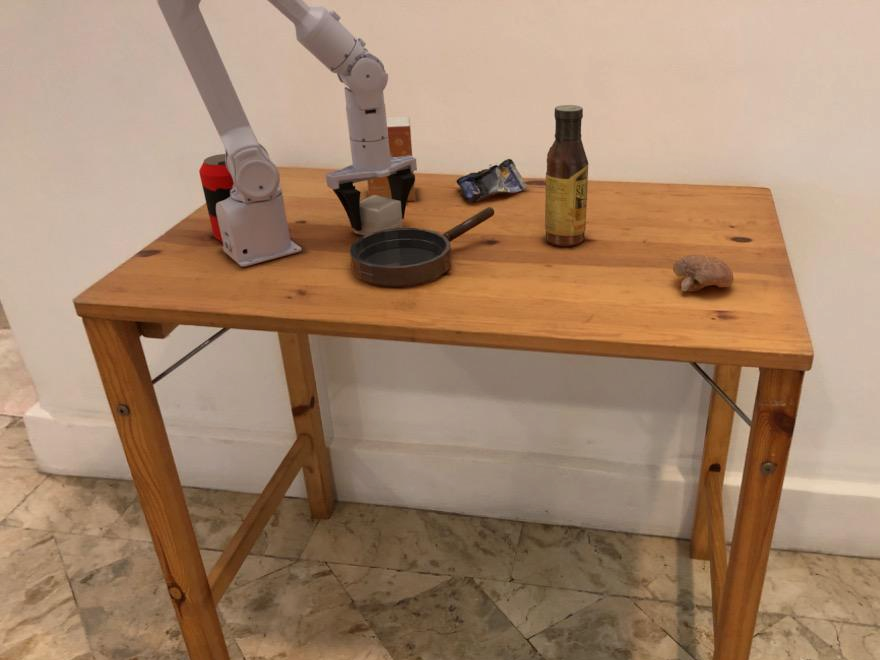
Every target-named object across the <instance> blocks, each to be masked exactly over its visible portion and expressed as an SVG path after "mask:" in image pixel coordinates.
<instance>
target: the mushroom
mask: <svg viewBox="0 0 880 660" xmlns="http://www.w3.org/2000/svg"><path fill="white" fill-rule="evenodd" d="M672 270H673V273H674V275H675V276H677V277H685V278H684V279H683V280H682V281H681V284H680V287H681V288H680V290H681V291H682V292H697V291H700V290H703V289H704V288H705V287H707V286H716V287H718V288H728V287H730V286H732V283H733V282H734V273H733V270H732V268H730V266H729V265H728V264H727V263H725V262H724V261H721V260H720V259H718V258H717V257H712V256H705V255H703V254H688V255H685V256H682V257H679V258H678V259H677V260H675V261H674V263H673V265H672Z"/></svg>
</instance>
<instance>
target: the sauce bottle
mask: <svg viewBox="0 0 880 660" xmlns="http://www.w3.org/2000/svg"><path fill="white" fill-rule="evenodd" d="M553 114H554V121H555V128H554V129H555V131H554V132H555V133H554V139H555V140H554V141H553V143H552V144H551V146H550V147H549V149H548V151H547V154H546V172H545V205H544V207H545V209H544V230H545V239H546V242H548V243H549V244H551V245H554V246H558V247H570V246H571V247H572V246H576V245H579V244H581V243H582V242H583V241H584V240H585V233H586V229H587V209H588V208H587V207H588V205H587V204H588V183H589V159H588V157H587V154H586V151H585V148H584V143H583V140H582V136H583V135H582V121H583V117H584V108H583V107H582V106H580V105H575V104H562V105H557V106H555V107H554V113H553Z"/></svg>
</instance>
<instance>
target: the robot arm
mask: <svg viewBox="0 0 880 660" xmlns="http://www.w3.org/2000/svg"><path fill="white" fill-rule="evenodd" d="M201 1H202V0H156V3H157V5H158V7H159V9H160V12H161V14H162V16H163V18H164V20H165V22H166V24H167V26H168V29H169V30H170V33H171V35H172V37H173V39H174V41H175V44H176V46H177V48H178V50H179V52H180V54H181V56H182V57H181V58H182V59H183V61H184V63H185V65H186V67H187V69H188V71H189V74H190V76H191V78H192V81H193V82H194V84H195V87H196V89H197V91H198V93H199V95H200V97H201V99H202V102H203V104H204V106H205V108H206V110H207V112H208V115H209V117H210V119H211V122H212V123H213V125H214V127H215V129H216V132H217V134H218V136H219V139H220V141H221V143H222V145H223V148H224V154H225V164H226V167H227V169H228V171H229V173H230V174H231V176H232V178H233V182H234V185H233V187H232V190H230V195H231V196H230V197H229V198H227V199H226V200H223V201H220V202H218V203H217V204H216V214H217V219H218V223H219V228H220V232H221V237H222V241H223V242H222V245H223V247H222V251H223V252H224V253H225V254H226V255H228V256H229V258H231V259H232V260H233V261H234V262H235V263H237V265H239V267H241V268H244V267H245V268H246V267H249V266H252V265H256V264H259V263H263V262H268V261H271V260H275V259H278V258H279V259H280V258H282V257H286V256H289V255H292V254H293V255H294V254H297V253H301V252H302V251H303V249H302V247H301V246H299V245H298V244H297V243H296V242H294V241H293V240H291V236H290V230H289V224H288V220H287V219H288V217H287V211H286V206H285V200H284V195H283V189H282V188H283V187H282V186H281V185H280V182H281V174H280V171H279V168H278V167H277V166H276V164H275V163H274V162H273V161H272V159H271V157H270V155H269V152H268V151H267V149H266V148H265V146H264V145H262V144H261V143H260V142H259V141H258V139H257V136H256V134H255V132H254V129H253V128H252V126H251V124H250V121H249V119H248V117H247V115H246V112H245V110H244V107H243V105H242V103H241V101H240V99H239V96H238V94H237V92H236V89H235V87H234V85H233V82H232V80H231V78H230V76H229V74H228V71H227V69H226V66H225V64H224V62H223V59H222V57H221V55H220V52H219V50H218V48H217V46H216V43H215V42H214V39H213V36H212V34H211V32H210V30H209V27H208V26H207V23H206V21H205V20H206V19H204V16H203V14H202V11H201V9H200V3H201ZM267 2H269V3H270V4H271V5H272V6H273V7H274V8H275V9H277V10H278V11H279V12H280V13H281V14H282V15H283V16H284V17H285V18H287V19H288V20H289V21H290V22H291V23H292V24H293V25H294V29H295V37H296V40H297V42H298V43H299V44H300V45H302V46H303V47H304V48H305V49H306V51H308V52H309V53H310V54H311V55H313V56H314V58H315V59H317V60H318V61H319V62H320V63H321V64H322V65H323V66H324V67H326V69H328V70H329V71H330V72H331V73H332V74H336V76H337V78H338V80H339V82H340V83H342V84H344V86H345V87H343V88H344V95H345V96H344V97H345V111H346V112H345V113H346V121H347V128H348V137H349V144H350V145H349V146H350V152H351V162H352V164H350V165H347V166H345V167H343V168H340V169H337V170H334V171H332V172H327V173H325V180H326V185H327V187H328V188H329V189H330V190H332V191H333V192H334V194H335V195H336V197H337V198H338V200H339V202H340V203H341V205H342V207H343V209H344V211H345V213H346V215H347V218H348V222H349V223H350V227H351V229H353V230H354V229H355V230H356V231H361V230H362V224H361V217H360V201H361V193H362V192H361V191H360V190H359V189H356V186H355V185H354V184H357V183H360V182H365V181H366V182H367V180H370V179H374V178H379V177H385V176H387V178H388V182H389V186H390V190H391V196H392V199H393V200H398V201H401V211H402V220H405V213H406V207H407V203H408V201H407V199H408V196H409V193H410V190H411V188H412V186H413V184H414V185H415V183H416V175H415V174H412V173H411V171H414V172H415V171H417V170H418V166H417V158H416V157H414V156H413V155H412V156H410V155H409V156H403V157H395V158H390V151H389V140H388V129H387V118H386V117H387V110H386V103H385V94H384V91H385V89H386V86H387V85H388V81H389V73H388V72H386V69H385V66H384V63H383V61H381V59H380V58H378V57H377V56H375V55H374V54H373V53H371V52H370V51H369V50H368V48H366V44H367V43H366V42H365V41H364V40H363V39H362V38H361V37H359V38H356V36H354V35H353V34H352V33H351V31H349V30H348V29H347V28H346V27H345V26H344V25H343V24H342V23H341V22H340V20H341V15H339V14H338V13H337V12H336V11H335V10H333V9H330V11H328V9H327V8H325V7H324V6H309V5H308V4H307V3H306V2H305V1H304V0H267Z"/></svg>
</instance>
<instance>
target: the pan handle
mask: <svg viewBox="0 0 880 660" xmlns="http://www.w3.org/2000/svg"><path fill="white" fill-rule="evenodd" d="M494 215H495V209H494V208H493V207H492V206H487V207H486V208H484V209H482V210H481V211H479V212H477V213H476V214H474V215H472V216H470V217H469V218H467V219H465V220H464V221H461V223H459V224H457V225H456V226H454V227H452V228H451V229H448V230H447V231H445V232H444V233H443V234H442V235H443V236H445V237H446V238H447V239H448V240H449V242H450V243H451V242H452V241H454V240H456V239H457V238H459V237H461V236H462V235H464V234H466V233H467V232H469V231H471V230H472V229H474V228H476V227H477V226H479V225H480V224H482V223H483V222H486V221H488V219H490V218H492V217H494Z"/></svg>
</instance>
